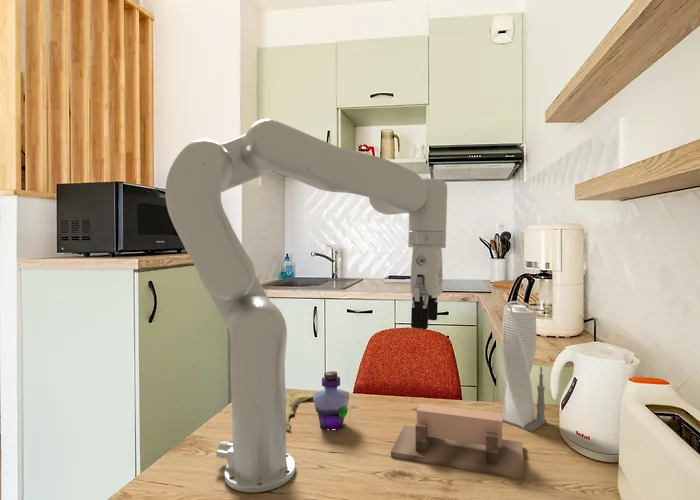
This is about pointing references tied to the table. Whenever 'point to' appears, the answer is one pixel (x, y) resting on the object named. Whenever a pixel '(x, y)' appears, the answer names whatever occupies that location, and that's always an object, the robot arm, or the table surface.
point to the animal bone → (295, 405)
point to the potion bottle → (331, 402)
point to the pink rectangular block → (460, 423)
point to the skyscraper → (520, 368)
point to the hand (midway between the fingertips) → (424, 323)
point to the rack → (461, 452)
